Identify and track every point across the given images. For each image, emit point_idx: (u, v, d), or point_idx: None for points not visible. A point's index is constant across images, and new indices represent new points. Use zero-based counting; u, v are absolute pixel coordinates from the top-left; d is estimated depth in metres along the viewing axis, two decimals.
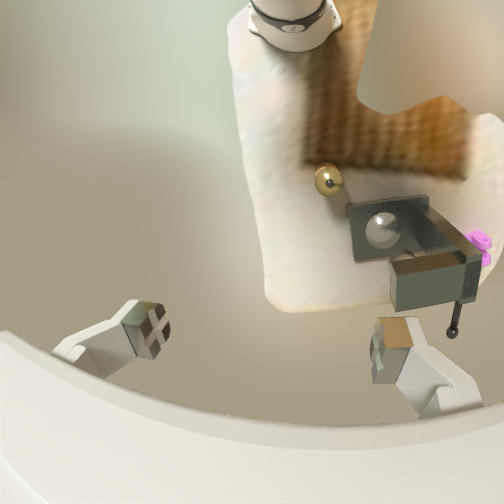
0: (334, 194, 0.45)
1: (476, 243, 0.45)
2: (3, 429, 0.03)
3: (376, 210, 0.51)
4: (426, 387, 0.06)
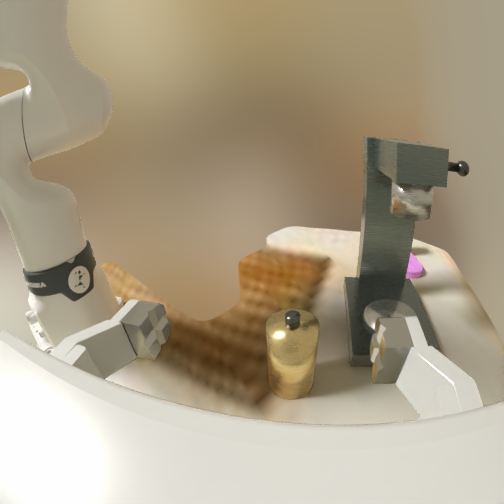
0: (316, 322, 0.25)
1: None
2: (3, 429, 0.03)
3: (360, 323, 0.33)
4: (426, 387, 0.06)
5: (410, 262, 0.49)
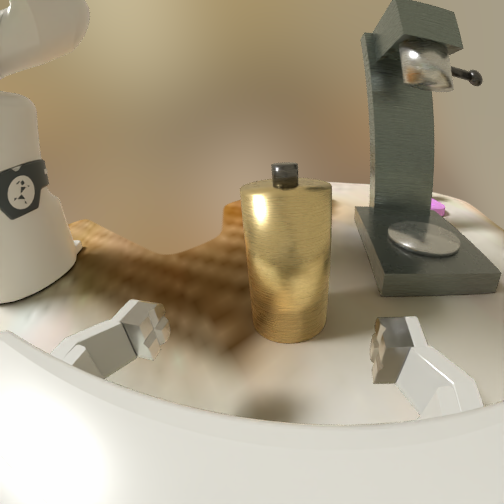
0: (326, 183, 0.14)
1: None
2: (3, 429, 0.03)
3: (386, 242, 0.23)
4: (426, 387, 0.06)
5: None
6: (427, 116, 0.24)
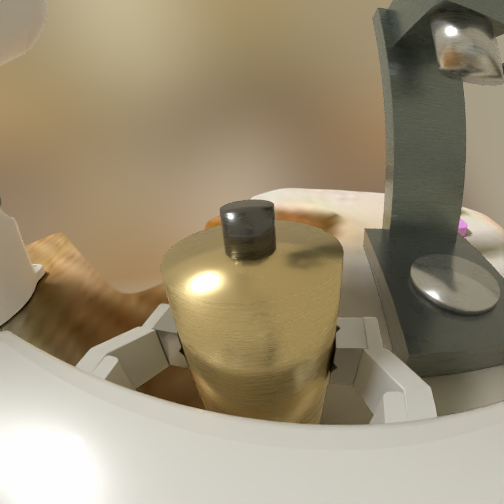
0: (332, 243, 0.07)
1: None
2: (3, 429, 0.03)
3: (409, 291, 0.16)
4: (379, 391, 0.06)
5: None
6: (458, 116, 0.17)
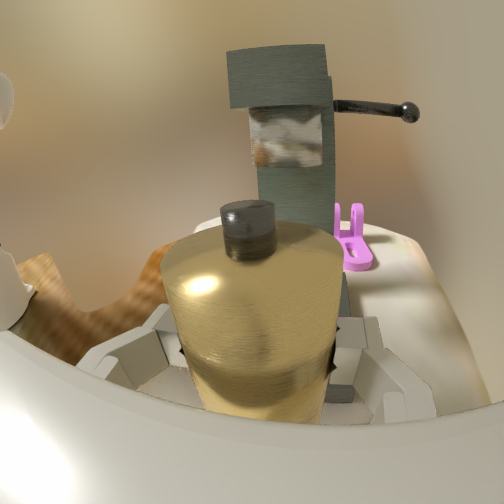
0: (332, 243, 0.07)
1: (336, 223, 0.44)
2: (3, 429, 0.03)
3: None
4: (379, 391, 0.06)
5: (358, 251, 0.41)
6: (326, 175, 0.26)
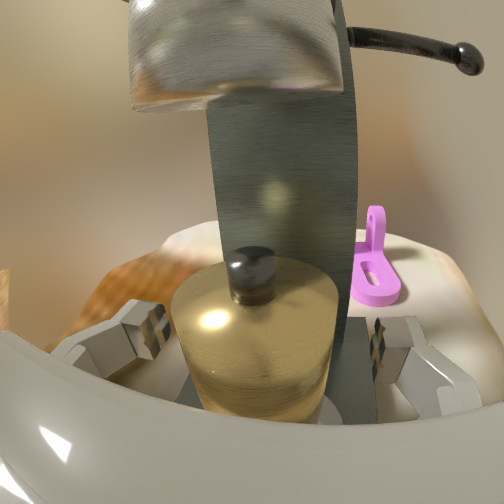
0: (328, 287, 0.08)
1: None
2: (3, 429, 0.03)
3: None
4: (426, 387, 0.06)
5: (379, 274, 0.28)
6: (341, 155, 0.13)
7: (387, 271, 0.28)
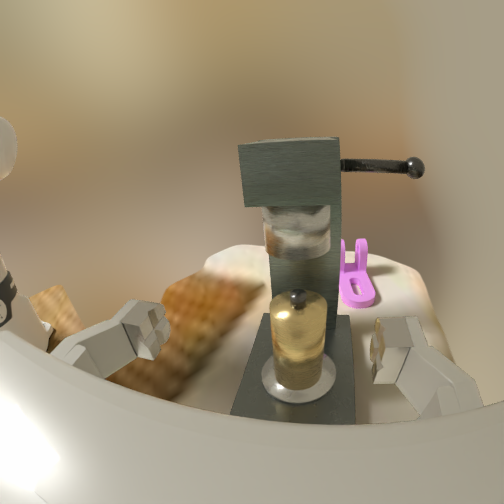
0: (323, 302, 0.23)
1: (341, 259, 0.46)
2: (3, 429, 0.03)
3: (256, 379, 0.27)
4: (426, 387, 0.06)
5: (361, 287, 0.43)
6: (332, 236, 0.28)
7: (367, 285, 0.43)
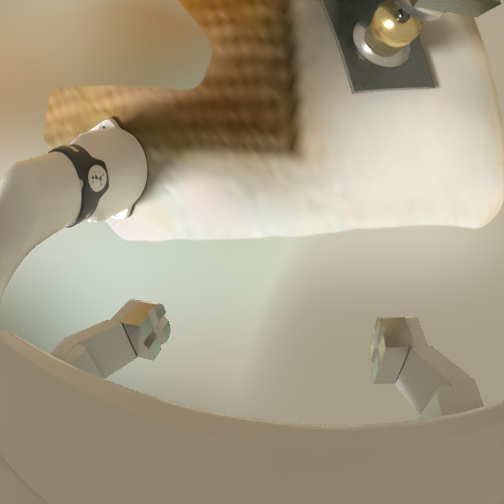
0: None
1: None
2: (3, 429, 0.03)
3: (353, 50, 0.26)
4: (426, 387, 0.06)
5: None
6: None
7: None
